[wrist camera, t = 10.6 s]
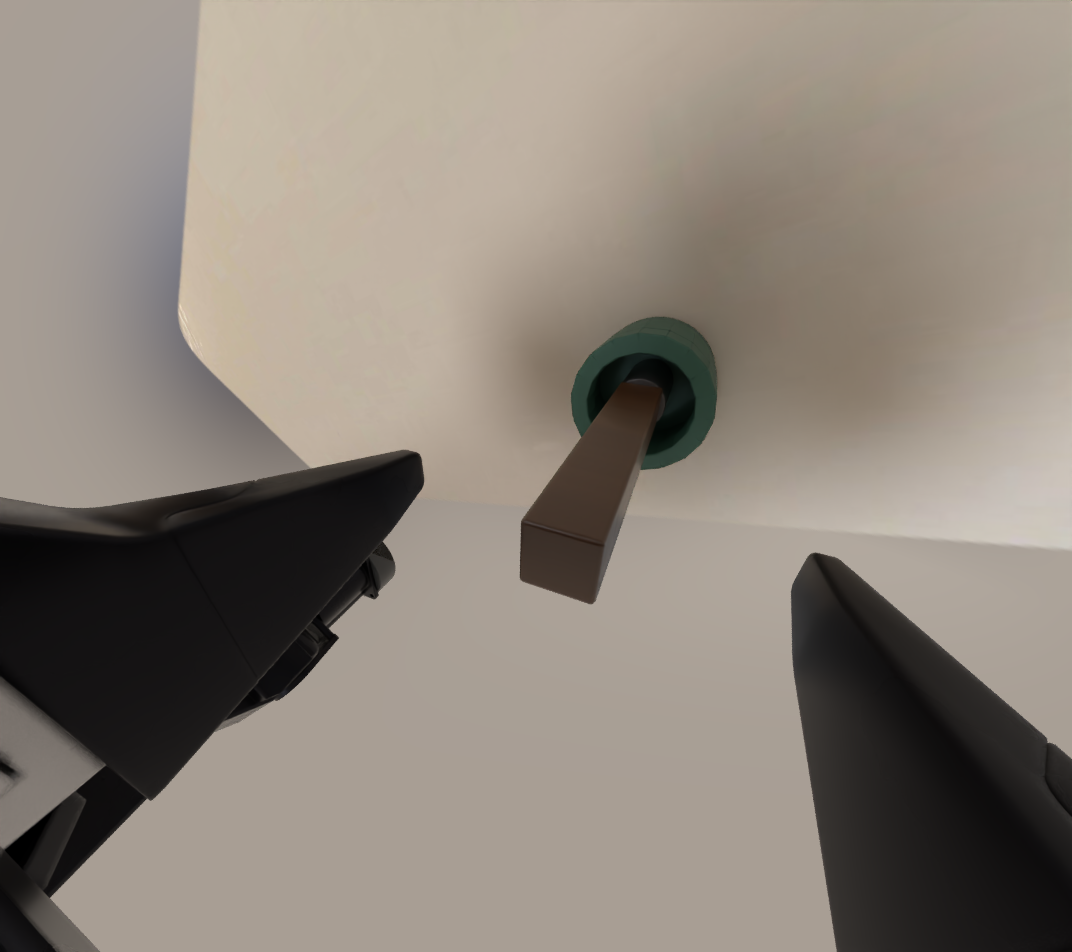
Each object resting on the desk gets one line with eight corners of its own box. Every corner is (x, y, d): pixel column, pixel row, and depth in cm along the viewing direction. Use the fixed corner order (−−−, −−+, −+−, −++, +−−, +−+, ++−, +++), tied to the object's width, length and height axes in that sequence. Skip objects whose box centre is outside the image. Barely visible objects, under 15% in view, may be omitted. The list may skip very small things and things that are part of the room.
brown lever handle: (668, 404, 18) (602, 618, 7) (625, 397, 18) (508, 585, 8) (677, 361, 17) (617, 538, 6) (632, 355, 17) (509, 508, 7)
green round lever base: (698, 439, 19) (695, 483, 15) (591, 419, 20) (565, 454, 17) (732, 323, 16) (737, 343, 12) (604, 310, 18) (576, 325, 14)
